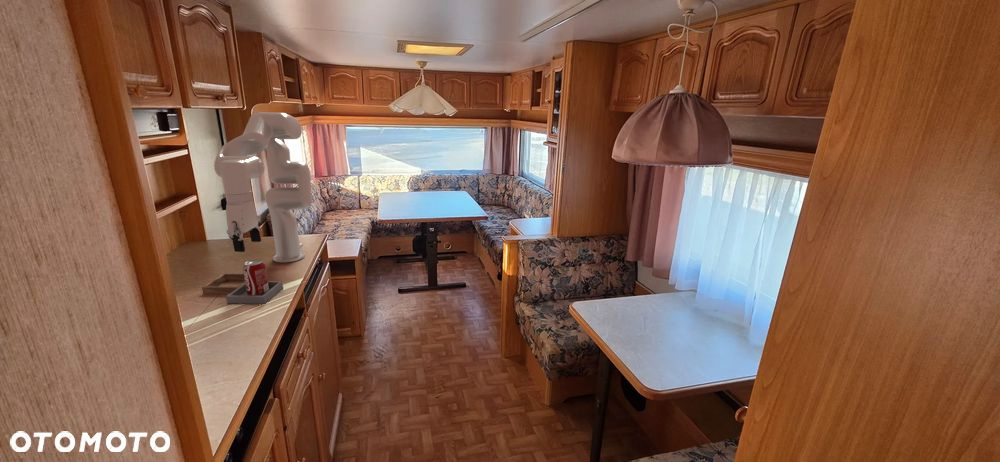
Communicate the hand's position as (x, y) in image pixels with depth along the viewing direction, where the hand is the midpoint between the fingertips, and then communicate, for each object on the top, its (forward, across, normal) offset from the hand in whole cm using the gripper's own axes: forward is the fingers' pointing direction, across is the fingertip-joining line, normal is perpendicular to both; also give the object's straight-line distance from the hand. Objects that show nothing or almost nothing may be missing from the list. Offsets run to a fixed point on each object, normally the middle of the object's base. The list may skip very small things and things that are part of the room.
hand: (248, 246), depth 138 cm
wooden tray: (+19, -7, -13) cm, 24 cm away
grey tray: (+19, +1, 0) cm, 19 cm away
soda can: (+18, 0, 0) cm, 18 cm away
